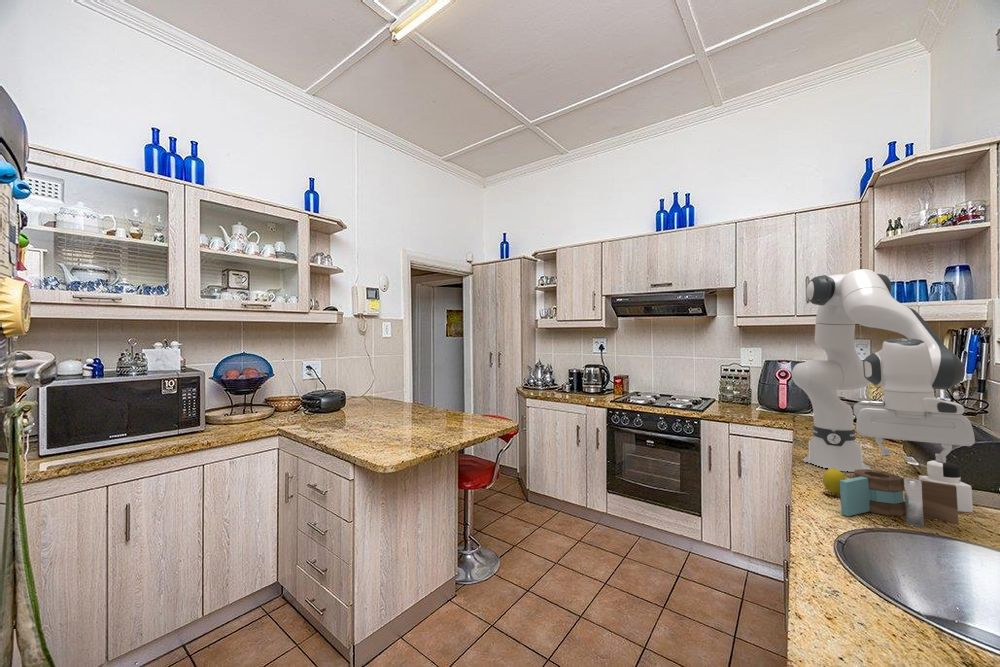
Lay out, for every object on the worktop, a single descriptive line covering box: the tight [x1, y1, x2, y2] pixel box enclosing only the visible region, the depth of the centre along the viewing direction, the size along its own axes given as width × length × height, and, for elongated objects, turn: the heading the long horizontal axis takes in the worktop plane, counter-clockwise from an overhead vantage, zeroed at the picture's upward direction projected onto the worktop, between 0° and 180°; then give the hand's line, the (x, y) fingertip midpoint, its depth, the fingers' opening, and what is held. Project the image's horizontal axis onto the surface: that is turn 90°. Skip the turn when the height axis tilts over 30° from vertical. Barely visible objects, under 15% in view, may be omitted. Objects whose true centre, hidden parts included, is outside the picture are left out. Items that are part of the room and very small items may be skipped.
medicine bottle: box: [918, 460, 974, 514], centre depth 107 cm, size 7×7×12 cm
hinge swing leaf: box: [840, 476, 905, 517], centre depth 105 cm, size 19×9×9 cm, turn 109°
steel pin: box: [903, 477, 925, 528], centre depth 96 cm, size 3×3×11 cm
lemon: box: [822, 468, 847, 496], centre depth 116 cm, size 6×6×8 cm
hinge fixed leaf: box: [854, 469, 959, 525], centre depth 103 cm, size 9×19×9 cm, turn 49°
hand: (912, 458), depth 97 cm, fingers open, 8 cm apart
